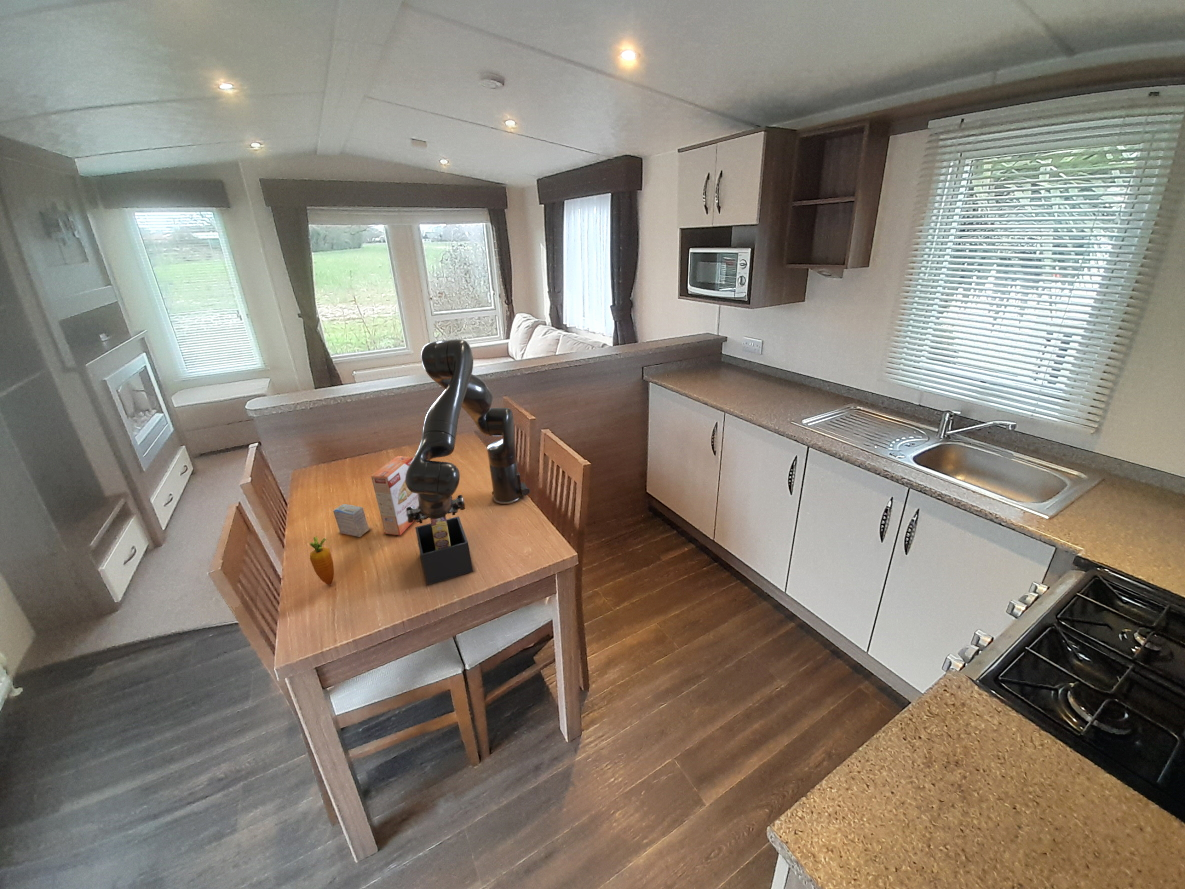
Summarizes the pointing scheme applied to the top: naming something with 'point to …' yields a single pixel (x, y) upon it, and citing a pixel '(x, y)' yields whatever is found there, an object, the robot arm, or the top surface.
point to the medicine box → (351, 520)
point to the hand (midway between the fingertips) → (436, 515)
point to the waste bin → (444, 553)
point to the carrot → (322, 561)
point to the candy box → (440, 533)
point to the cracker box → (394, 495)
